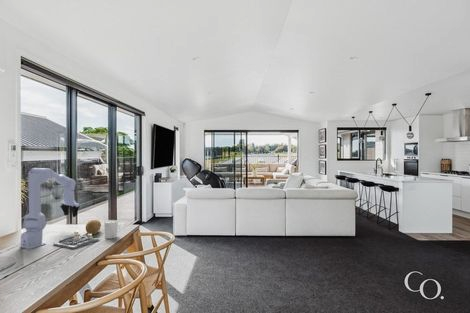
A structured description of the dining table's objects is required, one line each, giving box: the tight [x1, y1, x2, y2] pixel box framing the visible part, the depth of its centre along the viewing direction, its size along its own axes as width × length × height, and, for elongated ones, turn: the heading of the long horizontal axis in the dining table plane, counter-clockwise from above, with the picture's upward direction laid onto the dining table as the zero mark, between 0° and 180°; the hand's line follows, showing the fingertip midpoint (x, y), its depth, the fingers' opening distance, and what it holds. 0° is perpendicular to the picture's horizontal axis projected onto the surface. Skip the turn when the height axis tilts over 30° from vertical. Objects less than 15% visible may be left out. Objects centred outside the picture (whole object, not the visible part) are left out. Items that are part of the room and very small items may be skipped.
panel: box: [53, 231, 100, 250], centre depth 162 cm, size 17×16×5 cm
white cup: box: [104, 219, 119, 239], centre depth 174 cm, size 8×8×10 cm
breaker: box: [73, 233, 81, 241], centre depth 162 cm, size 3×2×4 cm
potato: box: [85, 219, 102, 236], centre depth 181 cm, size 9×16×9 cm, turn 17°
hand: (70, 215), depth 185 cm, fingers open, 7 cm apart
